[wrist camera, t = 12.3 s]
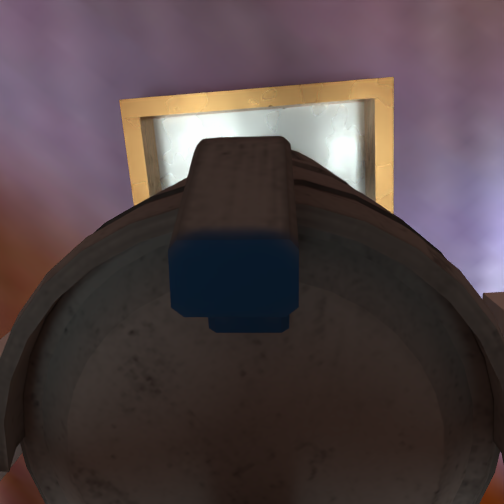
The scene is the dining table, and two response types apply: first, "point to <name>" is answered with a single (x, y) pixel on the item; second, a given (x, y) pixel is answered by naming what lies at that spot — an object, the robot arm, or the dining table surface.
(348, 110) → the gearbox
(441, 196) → the dining table surface
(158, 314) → the beverage bottle
